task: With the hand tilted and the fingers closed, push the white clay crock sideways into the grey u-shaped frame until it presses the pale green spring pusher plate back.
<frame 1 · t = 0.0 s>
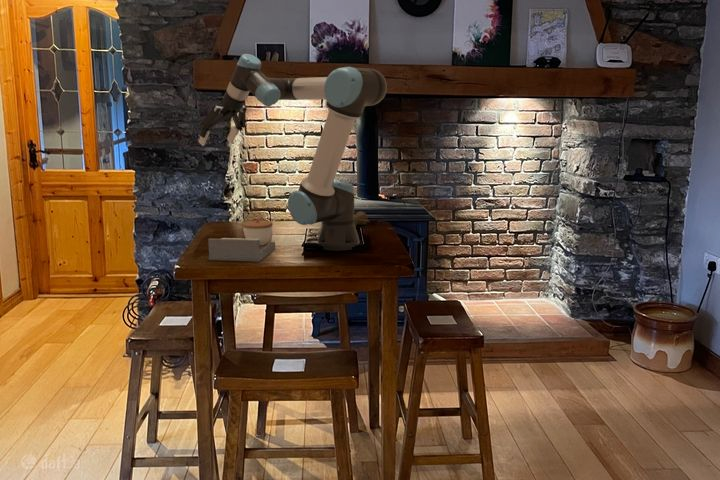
hand: (215, 142, 241), 36 cm above the table, tool tilted 35°, fingers open, 13 cm apart
lidded jar: (258, 244, 236), on the table
pusher: (240, 247, 217), point 3 cm above the table, slide at 0.0 cm
kendama: (348, 226, 268), on the table
grey u-shaped frame: (244, 253, 221), on the table
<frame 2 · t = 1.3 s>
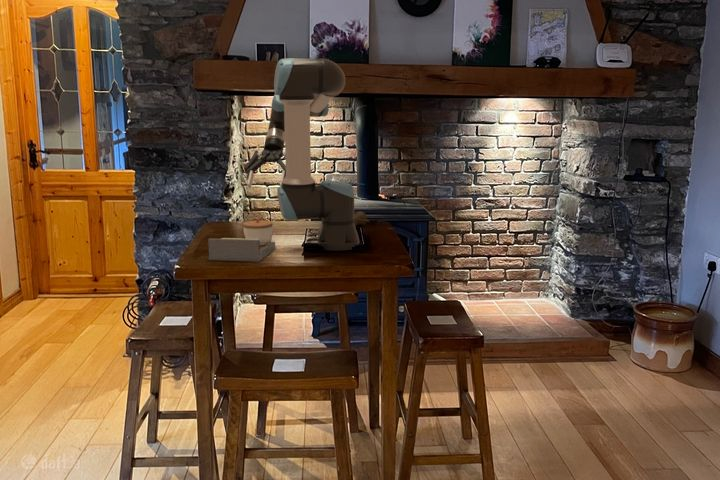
hand: (265, 186, 243), 20 cm above the table, tool tilted 45°, fingers open, 12 cm apart
nothing on the table moved.
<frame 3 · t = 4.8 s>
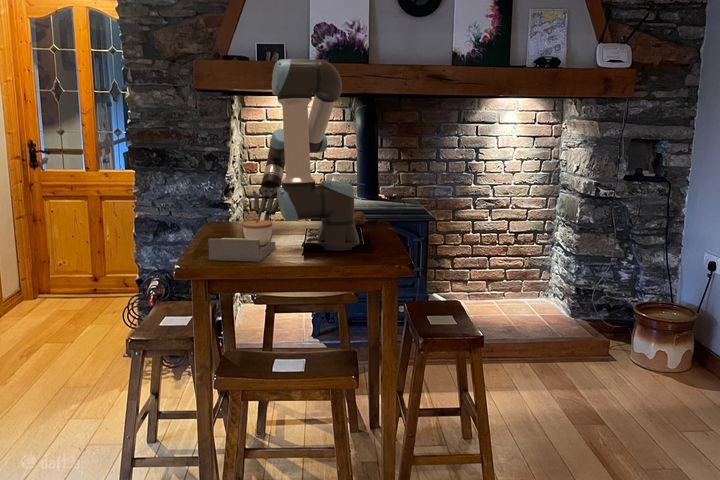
hand: (261, 228, 242), 4 cm above the table, tool tilted 45°, fingers closed
lidded jar: (258, 244, 236), on the table, touching gripper
everything else where it was.
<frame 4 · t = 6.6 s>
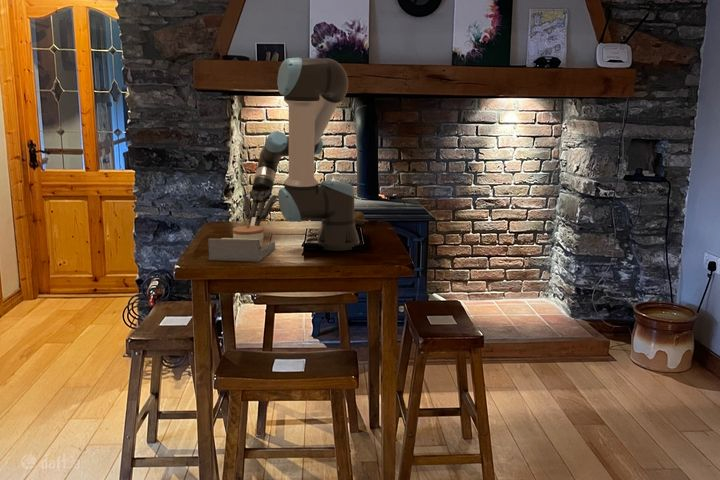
hand: (251, 234, 232), 4 cm above the table, tool tilted 45°, fingers closed
lidded jar: (249, 250, 226), on the table, touching gripper
everything else where it was.
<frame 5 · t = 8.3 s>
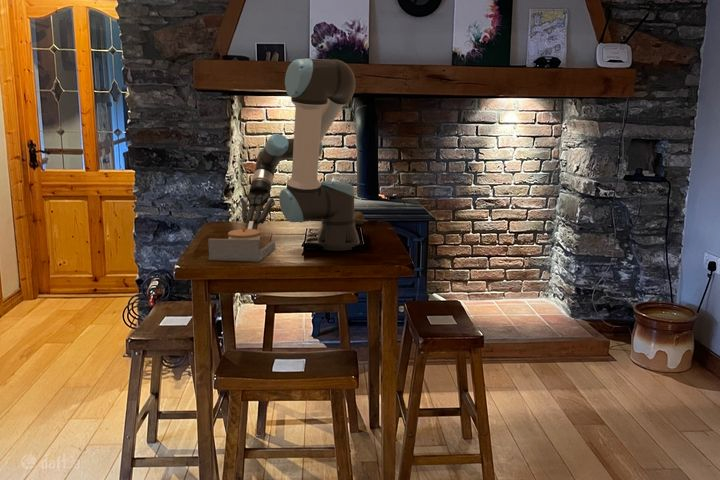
hand: (248, 238, 226), 4 cm above the table, tool tilted 45°, fingers closed
lidded jar: (245, 254, 220), on the table, touching gripper, pusher
pusher: (237, 249, 214), point 3 cm above the table, slide at 2.9 cm, touching lidded jar
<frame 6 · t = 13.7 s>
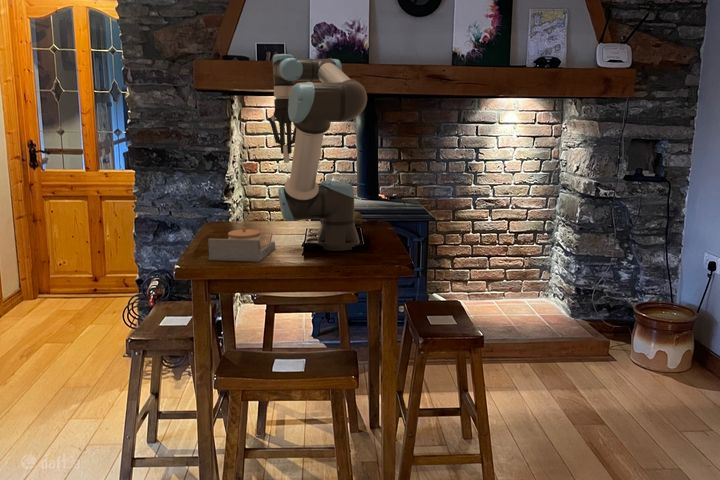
hand: (286, 162, 242), 28 cm above the table, tool pointing down, fingers closed
lidded jar: (245, 255, 220), on the table
pusher: (237, 249, 214), point 3 cm above the table, slide at 3.1 cm
at the end: lidded jar inside the target area (0.8 cm from its centre), on the table; lidded jar tilted 0° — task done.
